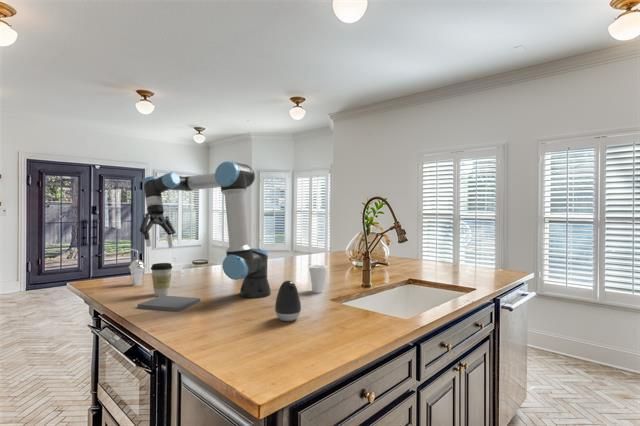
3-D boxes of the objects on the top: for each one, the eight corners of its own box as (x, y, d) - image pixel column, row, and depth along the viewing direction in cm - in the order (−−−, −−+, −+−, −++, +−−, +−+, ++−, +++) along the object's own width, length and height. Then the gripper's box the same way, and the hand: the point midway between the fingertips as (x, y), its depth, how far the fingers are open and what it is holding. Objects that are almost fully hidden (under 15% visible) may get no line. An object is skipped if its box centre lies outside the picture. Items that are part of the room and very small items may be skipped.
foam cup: (330, 290, 184) (330, 266, 183) (321, 294, 176) (321, 268, 176) (315, 288, 189) (315, 264, 188) (305, 291, 181) (305, 266, 181)
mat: (200, 301, 161) (200, 298, 161) (178, 311, 145) (178, 307, 145) (162, 298, 165) (162, 295, 165) (137, 307, 150) (137, 304, 150)
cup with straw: (132, 287, 187) (132, 250, 186) (125, 284, 193) (125, 248, 193) (148, 284, 193) (148, 248, 193) (141, 282, 199) (141, 247, 199)
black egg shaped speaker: (280, 325, 130) (280, 284, 129) (271, 317, 139) (271, 279, 139) (305, 321, 134) (305, 282, 134) (294, 313, 144) (295, 277, 143)
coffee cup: (167, 297, 167) (167, 266, 167) (146, 297, 168) (146, 265, 167) (175, 292, 177) (175, 262, 177) (156, 292, 177) (156, 262, 177)
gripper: (168, 211, 190) (174, 249, 185) (127, 205, 167) (133, 248, 162) (178, 207, 188) (185, 245, 183) (139, 200, 165) (145, 243, 160)
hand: (160, 246), depth 173 cm, fingers open, 13 cm apart
